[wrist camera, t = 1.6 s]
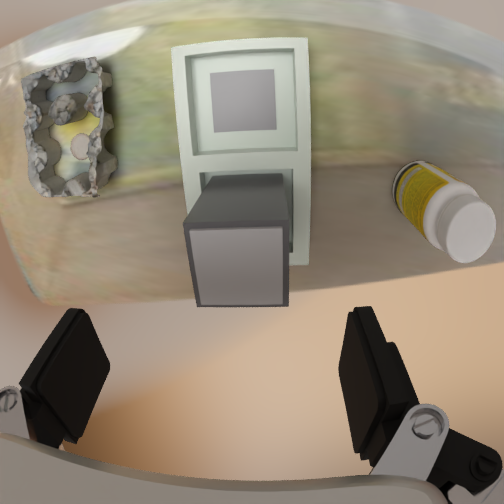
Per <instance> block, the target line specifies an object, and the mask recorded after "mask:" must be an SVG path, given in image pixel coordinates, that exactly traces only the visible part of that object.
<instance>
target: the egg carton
mask: <svg viewBox="0 0 504 504" xmlns="http://www.w3.org/2000/svg"><path fill="white" fill-rule="evenodd" d="M87 70H88V71H89V72H92V73H98V78H99V83H98V85H96V86H95V87H94V89H93V90H92V91H91V92H90V93H89V96H88V98H87V97H86V96H85V95H84V94H81V93H74V94H66V95H61V96H59V97H57V99H56V100H55V101H54V102H51V101H47V100H46V90H47V89H48V88H50V87H51V86H52V84H53V83H54V81H55V82H56V83H62V82H75V81H78V80H80V79H81V78H82V77H83V76H84V75H85V73H86V71H87ZM21 83H22V88H23V96H24V101H25V103H26V110H25V111H24V114H25V115H26V120H25V122H24V125H23V128H24V131H25V135H26V148H27V152H28V176H29V180H30V183H31V185H32V186H33V187H34V188H35V190H36V191H37V192H38V193H39V194H40V195H42V196H43V197H58V196H63V197H67V196H74V195H81V196H82V197H99V196H100V195H98V194H97V190H98V189H100V188H102V187H103V186H105V185H106V184H108V180H109V176H110V174H111V173H112V172H113V171H115V170H116V169H117V166H118V162H117V157H116V156H113V155H111V154H110V153H108V152H107V150H106V148H105V146H104V137H105V135H106V133H107V132H108V131H109V130H110V129H112V128H114V123H113V119H112V115H111V114H108V113H106V112H104V109H103V100H102V94H103V92H104V91H105V90H106V89H107V88H109V87H111V86H112V77H111V74H110V73H105V72H103V71H102V67H101V66H99V63H98V62H96V57H90V58H86V59H82V60H78V61H73V62H70V63H66V64H62V65H58V66H55V67H51V68H48V69H45V70H42V71H39V72H36V73H33V74H30V75H28V76H26V77H24V78H22V80H21ZM88 111H89V112H91V113H92V114H93V115H94V116H95V117H98V118H100V123H99V125H98V127H97V128H95V129H94V130H93V131H92V133H91V134H90V135H89V136H88V135H87V134H84V133H80V134H77V135H76V136H75V137H74V138H73V139H72V141H71V152H72V154H73V156H74V157H76V158H77V159H79V160H84V159H87V158H88V157H89V160H90V161H91V163H90V168H89V173H88V172H85V173H82V174H80V175H78V176H76V177H74V178H72V179H70V180H69V181H67V183H66V182H65V181H64V179H63V178H62V177H60V176H56V175H55V173H54V164H56V163H57V162H58V161H59V160H60V158H61V147H60V145H59V143H58V142H57V141H56V140H55V139H51V138H50V136H49V127H50V126H52V125H53V124H54V123H55V124H57V125H64V124H68V123H72V122H75V121H79V120H81V119H83V118H84V117H85V116H86V115H87V113H88Z"/></svg>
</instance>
